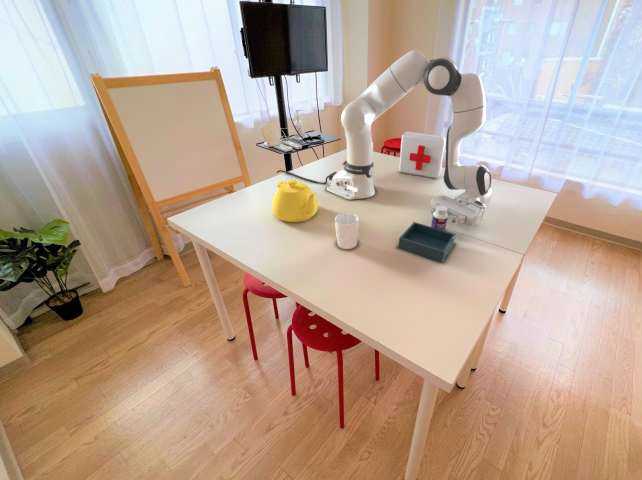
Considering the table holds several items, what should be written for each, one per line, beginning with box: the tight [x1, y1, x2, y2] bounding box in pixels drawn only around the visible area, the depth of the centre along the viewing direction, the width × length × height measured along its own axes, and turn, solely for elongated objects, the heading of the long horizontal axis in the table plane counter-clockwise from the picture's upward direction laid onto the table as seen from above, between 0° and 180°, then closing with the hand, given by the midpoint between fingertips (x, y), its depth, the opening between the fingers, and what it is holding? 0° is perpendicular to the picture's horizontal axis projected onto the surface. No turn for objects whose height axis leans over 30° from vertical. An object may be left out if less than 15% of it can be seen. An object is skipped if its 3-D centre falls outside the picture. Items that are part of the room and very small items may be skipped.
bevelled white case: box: [398, 131, 447, 180], centre depth 154 cm, size 21×8×20 cm, turn 68°
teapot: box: [271, 179, 319, 223], centre depth 118 cm, size 25×18×14 cm
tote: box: [397, 221, 457, 263], centre depth 105 cm, size 16×13×4 cm
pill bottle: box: [430, 205, 449, 231], centre depth 112 cm, size 5×5×10 cm
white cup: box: [334, 212, 360, 250], centre depth 103 cm, size 8×8×10 cm
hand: (443, 216), depth 113 cm, fingers open, 8 cm apart
